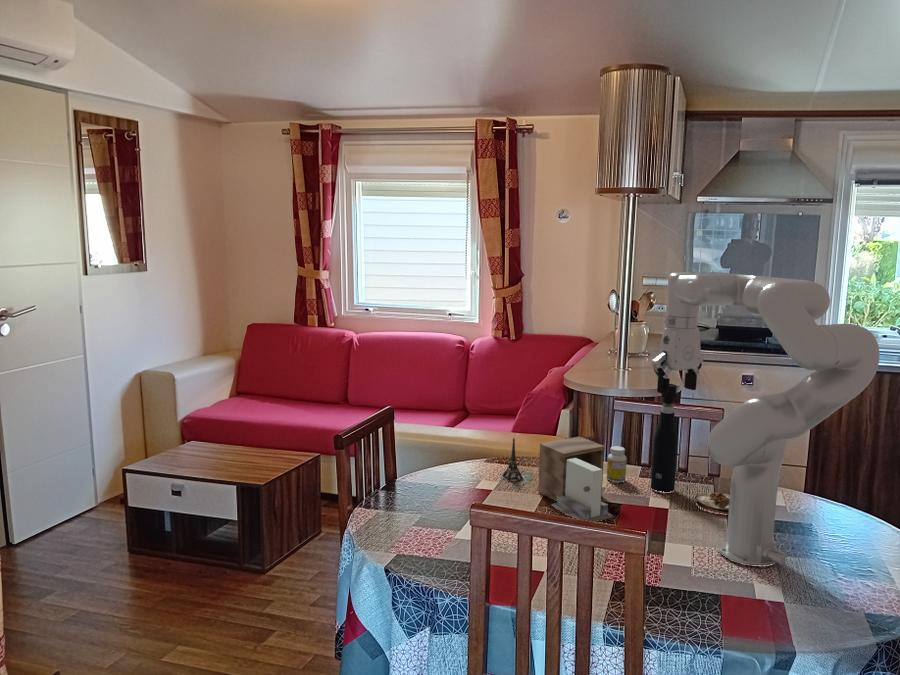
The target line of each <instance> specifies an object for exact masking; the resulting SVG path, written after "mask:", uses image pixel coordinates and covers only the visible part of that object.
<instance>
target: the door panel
mask: <svg viewBox="0 0 900 675" xmlns="http://www.w3.org/2000/svg"><path fill="white" fill-rule="evenodd" d="M601 487H602V488H603V481H602V469H600V468H598V467H596V466H593V465H591V464H589V463H586V462H584V461H582V460H580V459H577V458H573V459H567V466H566V489H565V497H567V498H569V499H571V500H573V501H575V502H577V503H579V504H581V505H583V506H585V507H587V508H589V509H590V517H595V516H599V515H600V506H601V502H602V496H601Z"/></svg>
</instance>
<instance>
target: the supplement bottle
mask: <svg viewBox="0 0 900 675" xmlns="http://www.w3.org/2000/svg"><path fill="white" fill-rule="evenodd" d="M609 452H610V453H609V454H608V455H607V462H606V463H607V464H606V466H607V467H606V468H607V469H606V480H607V479H608V480H610V481H614V482H623V481H625V482H626V478H627V477H626V475H627V461H628V460H627V459H628V458H627V456H626V455H625V453H626V449H625V448H624V447H623V446H618V445H615V446H611V447H610V451H609ZM608 480H607V481H608ZM610 481H609V482H610ZM623 483H624V482H623Z"/></svg>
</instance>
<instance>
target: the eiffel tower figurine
mask: <svg viewBox="0 0 900 675" xmlns="http://www.w3.org/2000/svg"><path fill="white" fill-rule="evenodd" d="M515 441H516V438H515V437H513V438H512V448H511V455H510V460H509V461H510V462H509V464H508V466H507V467H506V470H504V472H503V473H502V474H501V477H502V479H504V480H505V482H506V483H507V482H522V484H518V485H517V484H516V485H512V486H511V489H517V490H519V489H520V488H522V487H523V486H522V485H523V484H524V486H525V485H527V484H528V483H529V482H531V481H532V480H533V479H532V477H533V476H531V474H532V473H531V472H522V473H521V472H520V469H519V468H518V465H517V460H516V447H515V446H516V444H515V443H516V442H515ZM531 479H532V480H531ZM530 480H531V481H530ZM523 482H524V483H523Z"/></svg>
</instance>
